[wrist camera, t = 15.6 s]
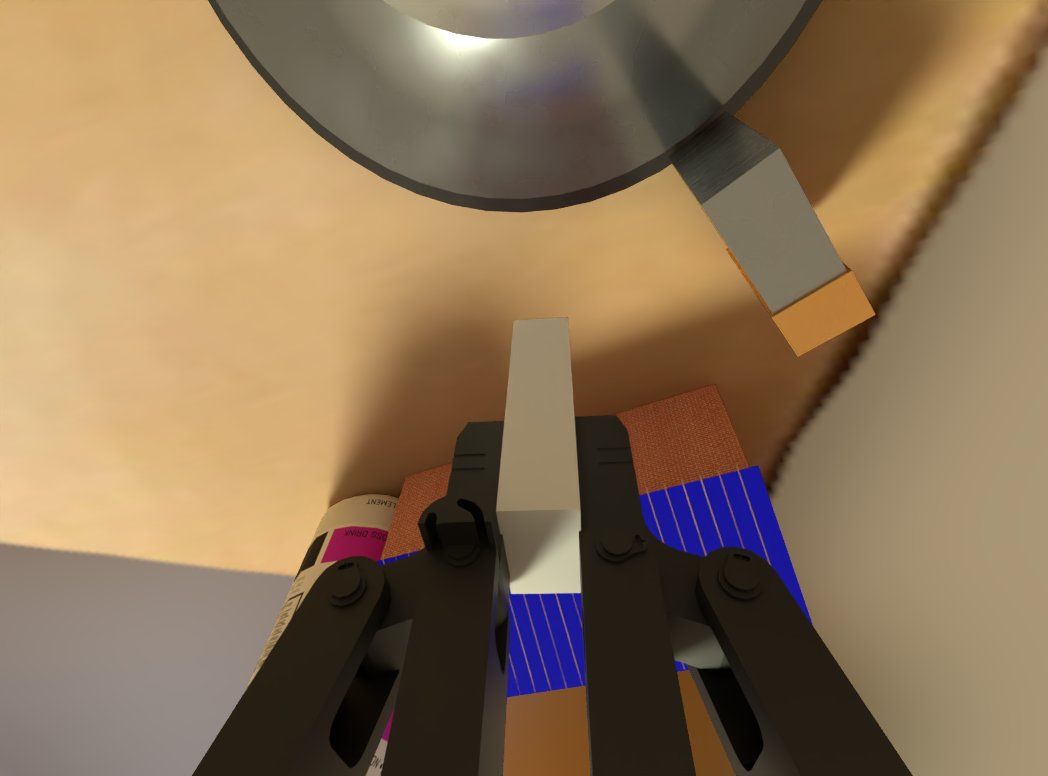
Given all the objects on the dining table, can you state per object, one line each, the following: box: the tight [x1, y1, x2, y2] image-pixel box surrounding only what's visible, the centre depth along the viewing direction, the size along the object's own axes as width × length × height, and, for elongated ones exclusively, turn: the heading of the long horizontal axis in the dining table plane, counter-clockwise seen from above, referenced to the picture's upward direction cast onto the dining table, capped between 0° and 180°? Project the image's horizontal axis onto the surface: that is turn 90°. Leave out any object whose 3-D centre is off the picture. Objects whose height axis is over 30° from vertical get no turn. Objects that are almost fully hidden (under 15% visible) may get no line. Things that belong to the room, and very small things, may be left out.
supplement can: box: [246, 494, 399, 776], centre depth 30 cm, size 8×8×15 cm
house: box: [377, 384, 813, 697], centre depth 29 cm, size 12×20×12 cm, turn 114°
